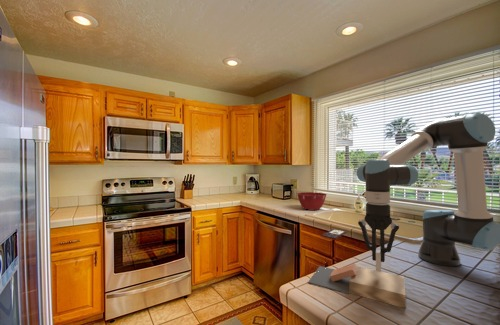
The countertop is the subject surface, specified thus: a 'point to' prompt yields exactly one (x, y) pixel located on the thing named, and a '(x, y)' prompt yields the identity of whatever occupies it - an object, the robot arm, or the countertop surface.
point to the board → (378, 286)
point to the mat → (329, 280)
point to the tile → (343, 272)
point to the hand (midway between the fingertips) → (378, 269)
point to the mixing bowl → (311, 200)
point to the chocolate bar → (333, 234)
